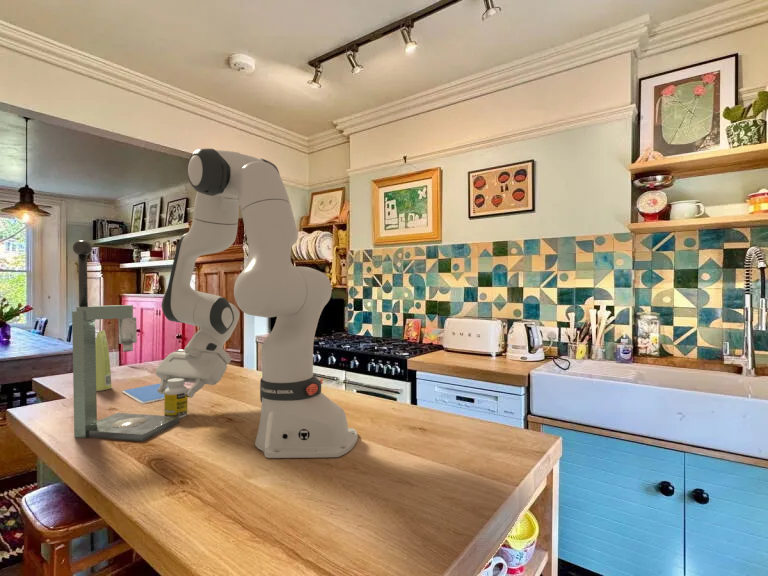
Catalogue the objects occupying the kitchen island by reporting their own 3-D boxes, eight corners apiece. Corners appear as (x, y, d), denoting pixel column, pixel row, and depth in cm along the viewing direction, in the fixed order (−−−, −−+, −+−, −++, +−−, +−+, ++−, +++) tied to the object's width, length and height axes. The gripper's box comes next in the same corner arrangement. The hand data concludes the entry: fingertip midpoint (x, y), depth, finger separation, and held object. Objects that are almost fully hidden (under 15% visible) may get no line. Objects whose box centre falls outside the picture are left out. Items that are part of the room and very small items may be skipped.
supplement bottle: (177, 420, 102) (177, 382, 102) (159, 419, 103) (159, 381, 103) (192, 413, 108) (191, 377, 107) (174, 412, 109) (174, 376, 108)
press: (179, 422, 101) (176, 243, 100) (139, 442, 88) (136, 237, 87) (117, 418, 104) (114, 244, 103) (71, 437, 91) (67, 239, 91)
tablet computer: (186, 396, 125) (186, 392, 125) (142, 406, 116) (142, 402, 116) (162, 386, 138) (162, 382, 138) (121, 394, 129) (121, 390, 129)
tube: (89, 389, 132) (88, 331, 131) (105, 386, 136) (104, 329, 136) (98, 392, 129) (97, 332, 129) (115, 388, 134) (114, 330, 133)
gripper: (168, 343, 115) (137, 384, 106) (224, 346, 108) (196, 391, 99) (181, 355, 120) (152, 397, 111) (236, 360, 112) (210, 404, 103)
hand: (173, 394), depth 105 cm, fingers open, 8 cm apart
